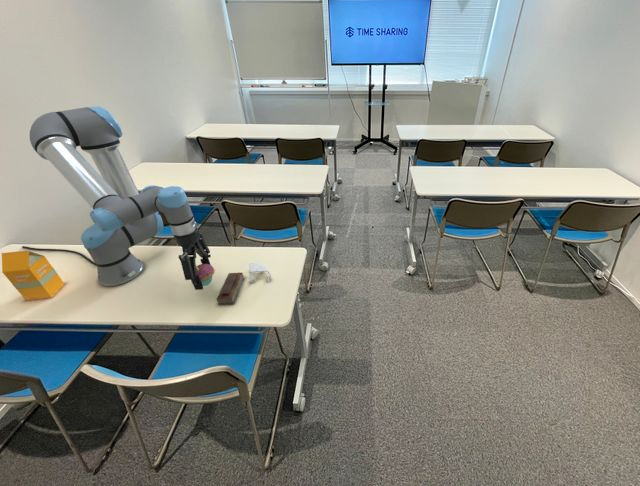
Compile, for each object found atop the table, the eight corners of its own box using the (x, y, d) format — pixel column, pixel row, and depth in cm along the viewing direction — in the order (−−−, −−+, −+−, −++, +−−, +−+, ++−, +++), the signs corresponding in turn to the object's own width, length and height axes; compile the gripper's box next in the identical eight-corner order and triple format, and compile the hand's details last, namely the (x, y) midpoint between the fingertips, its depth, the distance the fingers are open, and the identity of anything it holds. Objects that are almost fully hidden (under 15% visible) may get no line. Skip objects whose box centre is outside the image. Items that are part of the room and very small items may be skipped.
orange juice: (51, 297, 113) (19, 257, 103) (25, 300, 112) (-10, 260, 101) (65, 283, 120) (36, 244, 109) (40, 286, 118) (9, 246, 108)
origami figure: (242, 282, 119) (239, 273, 116) (251, 269, 126) (249, 260, 123) (269, 286, 117) (267, 277, 114) (278, 272, 124) (276, 263, 121)
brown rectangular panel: (233, 304, 109) (231, 296, 107) (218, 304, 109) (215, 296, 107) (244, 278, 121) (241, 270, 119) (230, 278, 121) (228, 271, 119)
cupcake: (208, 291, 108) (198, 266, 101) (187, 288, 109) (177, 263, 103) (221, 275, 115) (213, 251, 108) (202, 272, 116) (193, 248, 110)
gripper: (182, 249, 91) (203, 300, 102) (208, 214, 109) (223, 261, 121) (157, 250, 90) (181, 302, 102) (188, 215, 109) (205, 262, 120)
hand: (204, 280), depth 111 cm, fingers closed on cupcake, 9 cm apart
